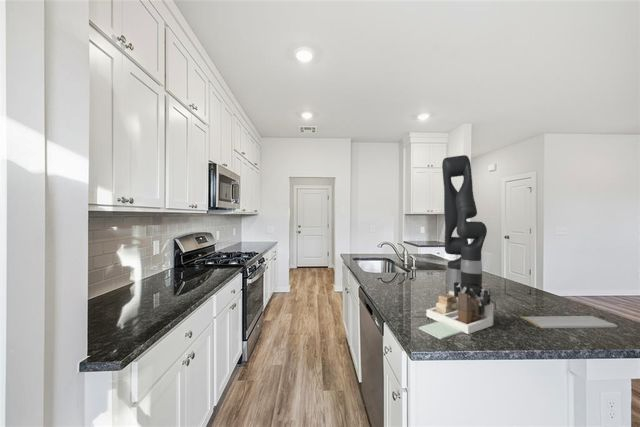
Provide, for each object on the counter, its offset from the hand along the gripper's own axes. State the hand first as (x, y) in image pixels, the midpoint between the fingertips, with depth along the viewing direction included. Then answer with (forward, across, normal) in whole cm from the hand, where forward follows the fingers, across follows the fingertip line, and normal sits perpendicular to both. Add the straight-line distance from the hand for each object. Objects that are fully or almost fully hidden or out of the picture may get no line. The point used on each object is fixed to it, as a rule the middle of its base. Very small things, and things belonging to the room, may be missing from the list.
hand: (471, 311), depth 105 cm
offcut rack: (+6, +5, 0) cm, 8 cm away
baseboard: (+7, -16, -39) cm, 43 cm away
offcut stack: (+6, +11, 0) cm, 12 cm away
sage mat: (+6, +3, +15) cm, 16 cm away
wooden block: (+6, 0, 0) cm, 6 cm away
